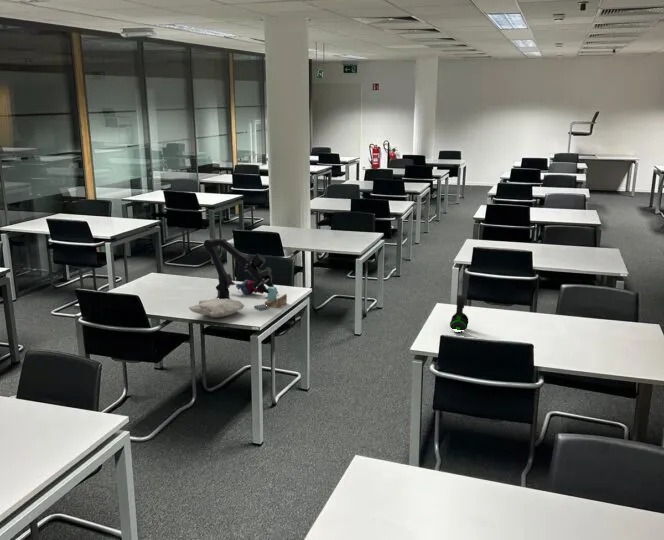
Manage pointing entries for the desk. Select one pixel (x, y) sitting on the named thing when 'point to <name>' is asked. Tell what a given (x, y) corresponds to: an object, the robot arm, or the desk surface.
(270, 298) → the teal block
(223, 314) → the decorative stone
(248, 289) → the toy
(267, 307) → the gray block
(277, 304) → the tan piece
